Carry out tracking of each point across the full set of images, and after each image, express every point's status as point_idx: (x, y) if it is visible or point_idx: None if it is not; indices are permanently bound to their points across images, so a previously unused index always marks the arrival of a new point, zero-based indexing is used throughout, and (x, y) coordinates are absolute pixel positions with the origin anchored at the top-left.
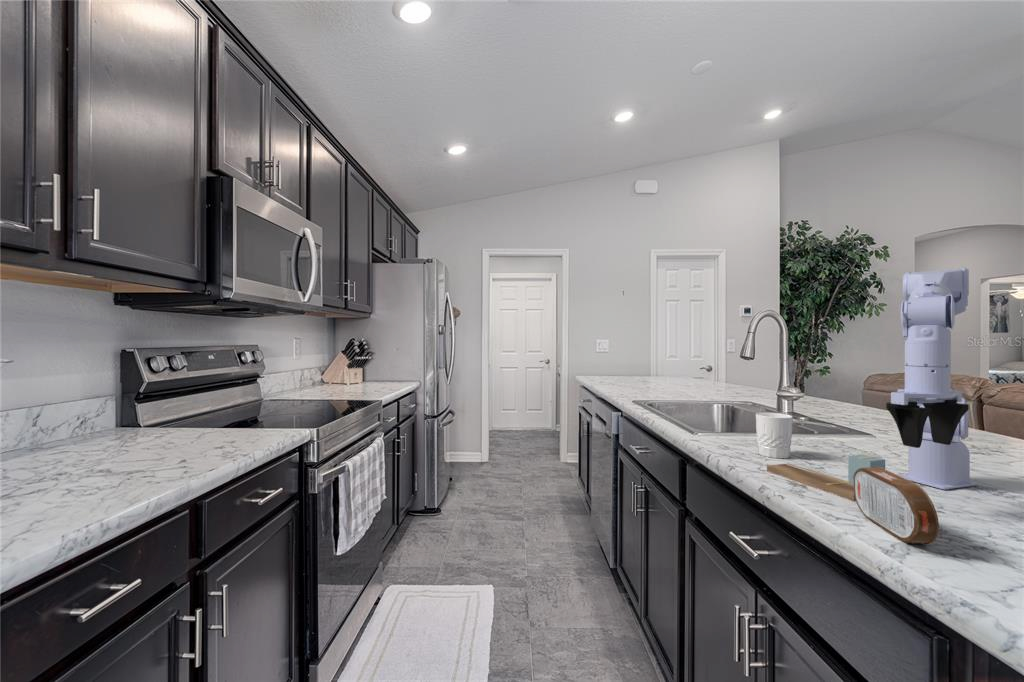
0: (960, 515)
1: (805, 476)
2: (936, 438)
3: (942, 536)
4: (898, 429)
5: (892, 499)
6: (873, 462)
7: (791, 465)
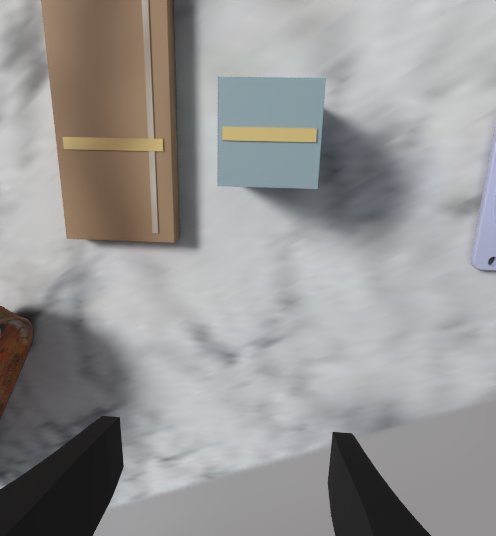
0: (249, 387)
1: (65, 35)
2: (336, 460)
3: (68, 430)
4: (40, 462)
5: None
6: (240, 185)
7: None
